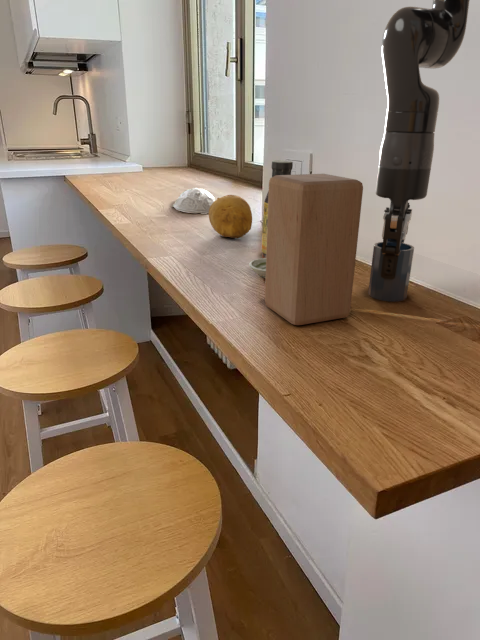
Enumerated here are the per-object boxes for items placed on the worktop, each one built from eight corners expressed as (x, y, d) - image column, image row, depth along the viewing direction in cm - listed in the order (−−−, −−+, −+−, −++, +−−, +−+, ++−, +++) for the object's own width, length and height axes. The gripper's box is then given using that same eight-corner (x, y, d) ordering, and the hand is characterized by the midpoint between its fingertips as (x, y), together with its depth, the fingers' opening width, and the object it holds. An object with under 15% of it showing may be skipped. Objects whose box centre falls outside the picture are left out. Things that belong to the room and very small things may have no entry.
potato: (223, 243, 116) (223, 200, 113) (202, 232, 127) (202, 192, 123) (261, 239, 121) (262, 197, 117) (238, 229, 131) (239, 190, 127)
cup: (407, 296, 83) (415, 243, 80) (404, 308, 78) (413, 252, 75) (370, 291, 85) (376, 240, 82) (365, 302, 80) (371, 248, 77)
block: (293, 328, 70) (302, 183, 62) (262, 305, 78) (266, 174, 71) (352, 318, 74) (367, 180, 66) (316, 297, 82) (325, 172, 74)
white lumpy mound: (217, 199, 174) (215, 179, 171) (223, 216, 151) (221, 194, 148) (173, 204, 173) (170, 184, 170) (173, 221, 150) (170, 199, 147)
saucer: (286, 266, 99) (286, 255, 98) (309, 280, 90) (310, 268, 90) (241, 271, 96) (241, 259, 95) (261, 286, 87) (261, 273, 86)
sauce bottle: (256, 257, 105) (259, 159, 98) (282, 254, 107) (287, 159, 100) (269, 265, 100) (273, 162, 92) (297, 262, 102) (303, 161, 94)
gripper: (430, 170, 66) (411, 288, 73) (432, 162, 79) (416, 264, 85) (372, 167, 69) (359, 282, 75) (383, 160, 81) (371, 259, 88)
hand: (389, 272), depth 80 cm, fingers closed on cup, 6 cm apart
